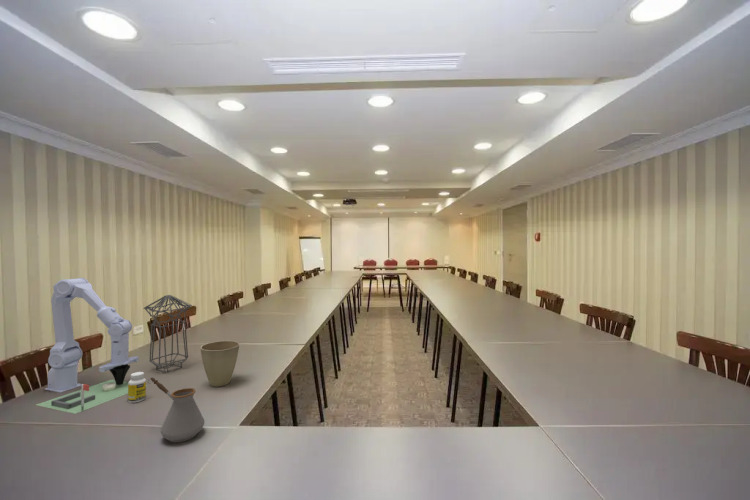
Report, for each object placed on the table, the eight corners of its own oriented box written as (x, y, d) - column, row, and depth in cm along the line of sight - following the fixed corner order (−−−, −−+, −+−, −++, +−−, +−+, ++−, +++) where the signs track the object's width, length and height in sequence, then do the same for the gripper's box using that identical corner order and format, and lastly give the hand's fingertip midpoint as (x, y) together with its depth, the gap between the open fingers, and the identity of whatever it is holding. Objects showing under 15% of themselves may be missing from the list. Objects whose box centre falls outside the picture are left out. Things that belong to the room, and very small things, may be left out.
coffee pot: (212, 430, 105) (213, 381, 105) (177, 450, 95) (178, 395, 95) (167, 416, 114) (168, 371, 114) (130, 432, 104) (131, 383, 104)
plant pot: (191, 387, 139) (192, 347, 139) (220, 375, 153) (220, 339, 153) (219, 392, 134) (219, 351, 134) (246, 379, 147) (247, 342, 148)
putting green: (35, 405, 122) (35, 404, 122) (111, 380, 147) (111, 379, 147) (75, 414, 115) (75, 413, 115) (147, 386, 140) (147, 385, 140)
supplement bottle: (136, 403, 124) (136, 376, 124) (124, 402, 125) (124, 375, 125) (149, 397, 129) (149, 371, 129) (137, 396, 130) (137, 370, 130)
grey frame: (51, 405, 121) (51, 380, 121) (78, 396, 129) (78, 372, 130) (85, 412, 116) (85, 386, 116) (111, 402, 124) (111, 377, 124)
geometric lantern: (194, 367, 164) (193, 294, 163) (159, 378, 150) (158, 298, 150) (176, 361, 172) (176, 291, 171) (142, 371, 159) (141, 295, 158)
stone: (100, 390, 135) (100, 385, 135) (112, 386, 138) (111, 381, 138) (106, 392, 133) (106, 387, 133) (117, 388, 137) (117, 383, 137)
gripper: (108, 356, 131) (107, 392, 131) (144, 347, 145) (143, 379, 145) (95, 355, 134) (94, 389, 134) (131, 345, 147) (131, 377, 147)
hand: (119, 384), depth 139 cm, fingers closed
